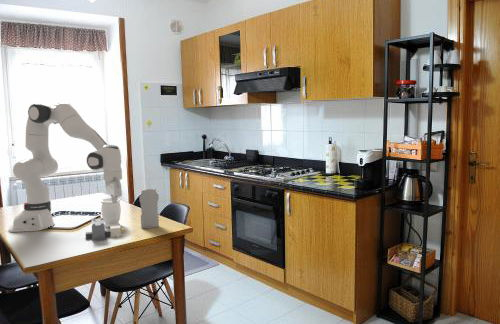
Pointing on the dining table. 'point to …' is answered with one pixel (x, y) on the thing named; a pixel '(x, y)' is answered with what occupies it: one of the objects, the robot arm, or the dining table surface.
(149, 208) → the tall pale column
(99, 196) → the dining table surface
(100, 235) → the block
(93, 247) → the dining table surface
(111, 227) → the plug
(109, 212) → the jar
